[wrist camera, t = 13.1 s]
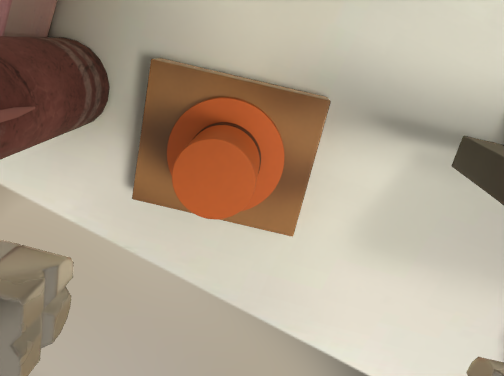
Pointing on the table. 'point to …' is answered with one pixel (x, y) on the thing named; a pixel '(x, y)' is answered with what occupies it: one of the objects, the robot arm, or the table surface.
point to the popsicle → (26, 17)
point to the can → (47, 90)
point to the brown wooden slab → (255, 92)
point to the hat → (224, 157)
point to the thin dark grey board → (482, 165)
